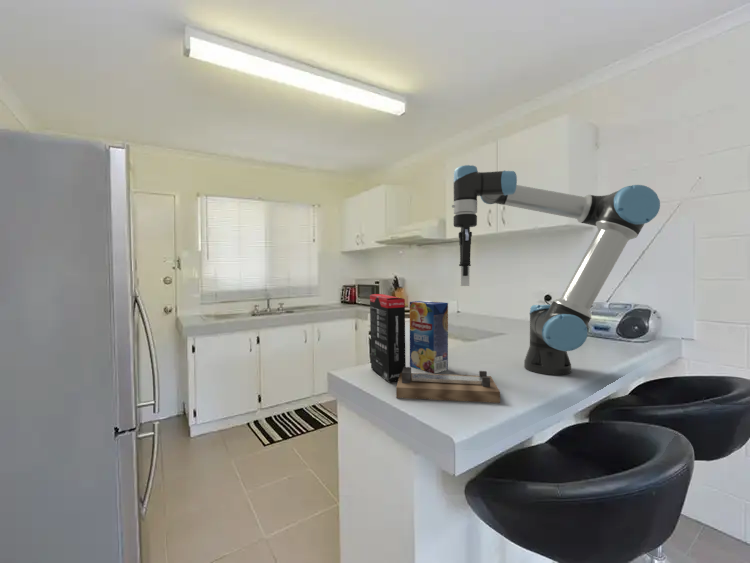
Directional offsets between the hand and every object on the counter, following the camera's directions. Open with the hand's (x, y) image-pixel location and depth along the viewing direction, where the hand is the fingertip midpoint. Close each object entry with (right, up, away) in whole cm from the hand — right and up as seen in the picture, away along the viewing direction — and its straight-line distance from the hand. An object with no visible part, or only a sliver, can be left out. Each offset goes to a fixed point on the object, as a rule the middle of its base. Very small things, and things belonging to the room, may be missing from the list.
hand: (464, 285), depth 118 cm
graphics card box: (-26, -31, +3) cm, 40 cm away
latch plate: (-9, -31, -14) cm, 35 cm away
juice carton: (-11, -30, +11) cm, 34 cm away
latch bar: (-8, -28, -14) cm, 32 cm away
